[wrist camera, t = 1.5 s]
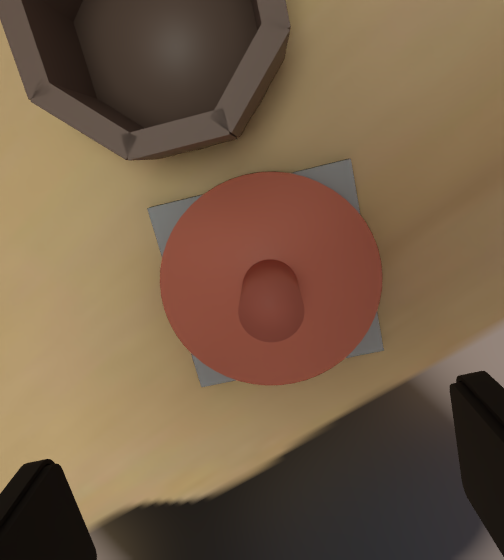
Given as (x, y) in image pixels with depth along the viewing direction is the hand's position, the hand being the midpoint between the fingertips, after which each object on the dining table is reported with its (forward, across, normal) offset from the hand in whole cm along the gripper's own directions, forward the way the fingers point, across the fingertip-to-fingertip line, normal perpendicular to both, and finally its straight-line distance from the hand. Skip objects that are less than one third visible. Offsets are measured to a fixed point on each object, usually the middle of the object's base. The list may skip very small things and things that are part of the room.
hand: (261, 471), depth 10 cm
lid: (+15, -1, 0) cm, 15 cm away
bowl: (+15, +1, -13) cm, 20 cm away
